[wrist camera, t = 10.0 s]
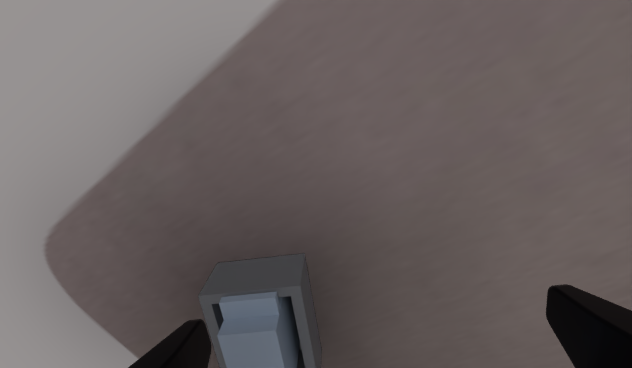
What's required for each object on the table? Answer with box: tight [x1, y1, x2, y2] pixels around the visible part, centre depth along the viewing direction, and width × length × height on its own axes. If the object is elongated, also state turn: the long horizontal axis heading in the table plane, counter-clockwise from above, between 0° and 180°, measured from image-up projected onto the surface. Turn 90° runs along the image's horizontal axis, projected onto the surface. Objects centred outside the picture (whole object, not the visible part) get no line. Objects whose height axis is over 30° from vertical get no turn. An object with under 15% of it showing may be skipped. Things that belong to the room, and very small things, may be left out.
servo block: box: [217, 291, 300, 368], centre depth 20 cm, size 7×3×4 cm, turn 9°
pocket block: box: [198, 253, 322, 368], centre depth 21 cm, size 8×6×3 cm
